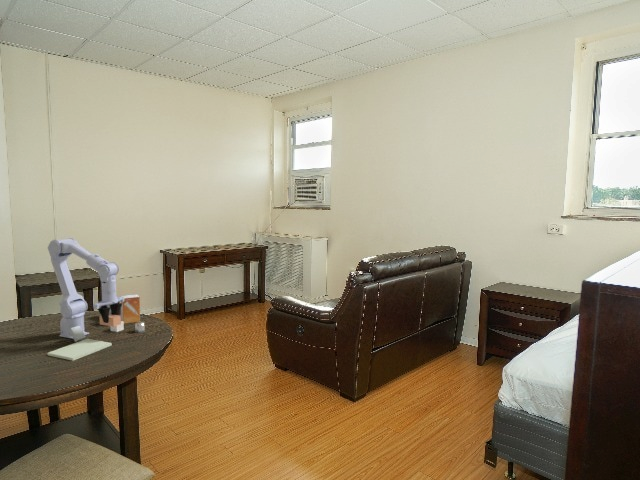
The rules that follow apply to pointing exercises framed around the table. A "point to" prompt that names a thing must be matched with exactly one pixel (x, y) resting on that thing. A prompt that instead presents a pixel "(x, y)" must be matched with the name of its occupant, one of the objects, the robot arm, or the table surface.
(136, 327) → the light grey cylinder
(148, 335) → the table surface
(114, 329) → the off-white cube
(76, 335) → the grey-blue slab
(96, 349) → the board
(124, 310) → the small box
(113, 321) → the terracotta brick
